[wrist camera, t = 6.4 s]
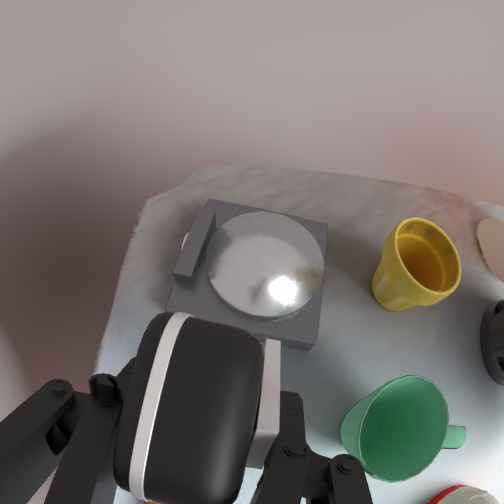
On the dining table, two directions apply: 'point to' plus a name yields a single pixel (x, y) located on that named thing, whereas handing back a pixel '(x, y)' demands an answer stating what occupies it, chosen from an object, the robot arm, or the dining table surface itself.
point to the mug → (400, 429)
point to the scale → (253, 272)
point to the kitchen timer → (464, 496)
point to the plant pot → (416, 266)
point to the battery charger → (189, 412)
